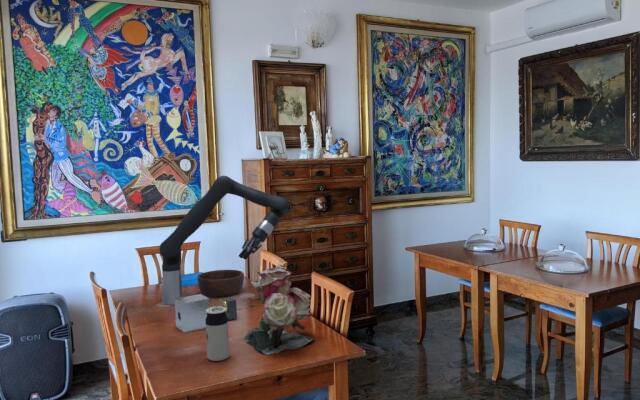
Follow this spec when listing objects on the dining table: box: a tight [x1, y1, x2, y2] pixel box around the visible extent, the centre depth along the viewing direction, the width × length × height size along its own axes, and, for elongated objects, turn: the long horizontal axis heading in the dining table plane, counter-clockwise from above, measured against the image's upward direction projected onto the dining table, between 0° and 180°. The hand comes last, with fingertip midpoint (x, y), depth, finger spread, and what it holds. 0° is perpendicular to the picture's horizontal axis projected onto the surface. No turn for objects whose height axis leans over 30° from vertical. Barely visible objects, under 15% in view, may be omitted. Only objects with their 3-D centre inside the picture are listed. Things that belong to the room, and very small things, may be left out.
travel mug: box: [205, 306, 230, 362], centre depth 190 cm, size 8×8×18 cm
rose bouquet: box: [242, 264, 315, 356], centre depth 205 cm, size 26×29×30 cm
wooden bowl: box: [197, 269, 245, 298], centre depth 283 cm, size 25×25×10 cm
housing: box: [174, 293, 211, 334], centre depth 226 cm, size 12×10×12 cm
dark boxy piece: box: [210, 296, 238, 321], centre depth 232 cm, size 18×6×8 cm, turn 124°
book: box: [161, 271, 204, 288], centre depth 308 cm, size 17×4×25 cm
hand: (242, 257), depth 255 cm, fingers open, 3 cm apart
